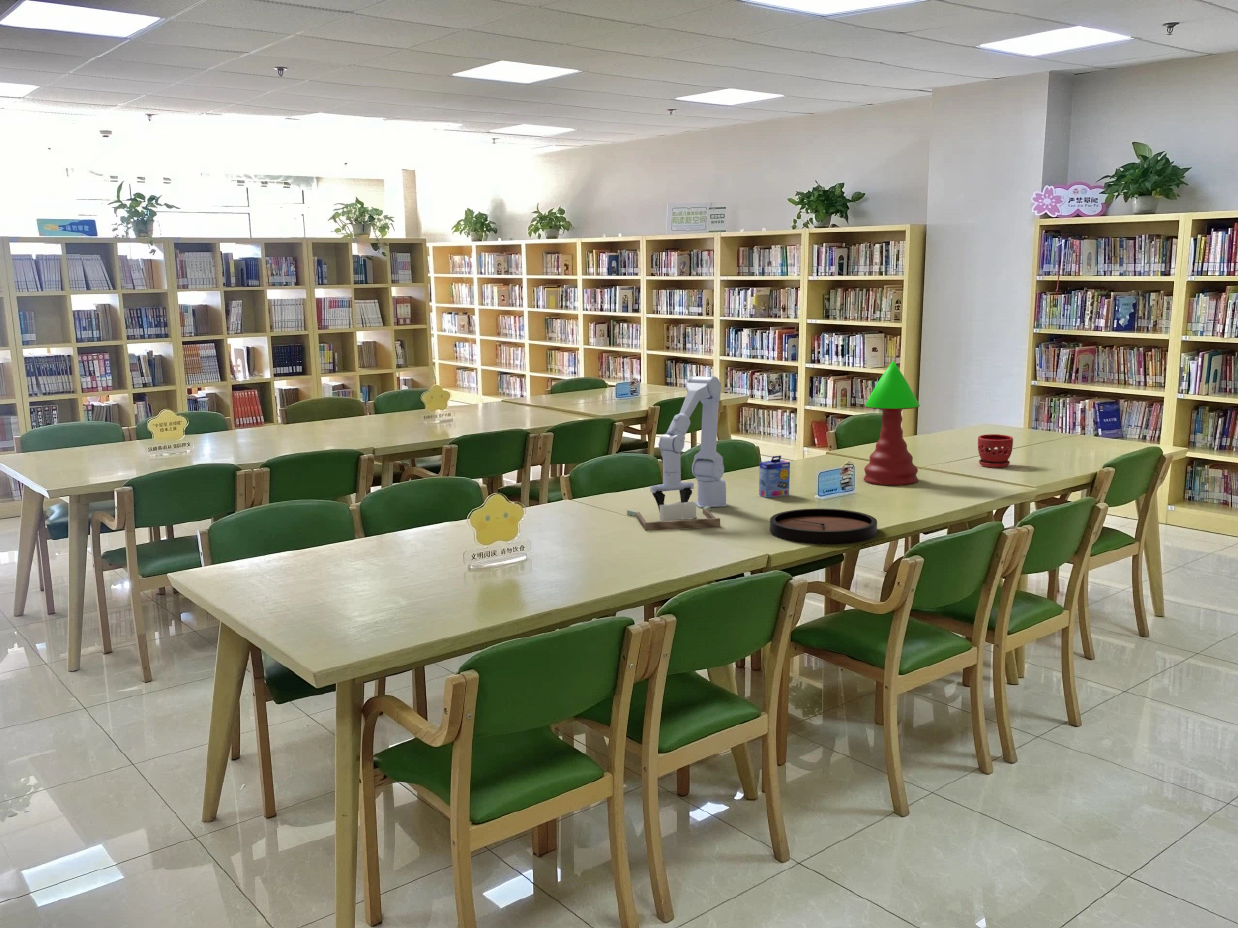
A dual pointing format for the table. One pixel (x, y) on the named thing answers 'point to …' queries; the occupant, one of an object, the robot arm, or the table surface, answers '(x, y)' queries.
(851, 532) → the wall clock
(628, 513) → the napkin dock
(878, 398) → the table lamp
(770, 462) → the ink cartridge box
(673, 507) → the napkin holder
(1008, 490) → the table surface
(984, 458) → the plant pot
